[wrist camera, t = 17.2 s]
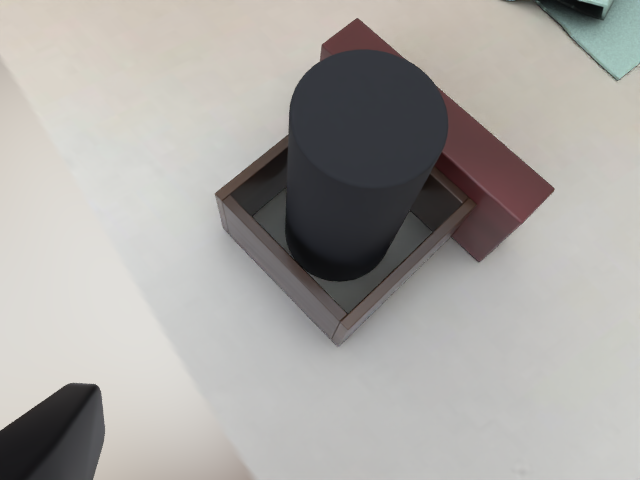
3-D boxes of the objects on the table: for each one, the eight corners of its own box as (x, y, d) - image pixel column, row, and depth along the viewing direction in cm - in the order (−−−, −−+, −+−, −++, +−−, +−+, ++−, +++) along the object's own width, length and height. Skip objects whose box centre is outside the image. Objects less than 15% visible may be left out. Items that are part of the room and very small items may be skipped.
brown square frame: (366, 377, 22) (387, 361, 18) (197, 202, 24) (180, 150, 20) (508, 233, 25) (556, 188, 20) (344, 85, 27) (357, 16, 22)
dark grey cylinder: (403, 267, 24) (472, 167, 15) (300, 293, 23) (313, 204, 15) (371, 174, 25) (419, 35, 17) (273, 196, 24) (271, 63, 16)
